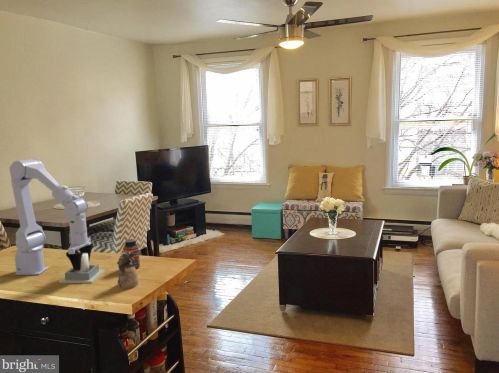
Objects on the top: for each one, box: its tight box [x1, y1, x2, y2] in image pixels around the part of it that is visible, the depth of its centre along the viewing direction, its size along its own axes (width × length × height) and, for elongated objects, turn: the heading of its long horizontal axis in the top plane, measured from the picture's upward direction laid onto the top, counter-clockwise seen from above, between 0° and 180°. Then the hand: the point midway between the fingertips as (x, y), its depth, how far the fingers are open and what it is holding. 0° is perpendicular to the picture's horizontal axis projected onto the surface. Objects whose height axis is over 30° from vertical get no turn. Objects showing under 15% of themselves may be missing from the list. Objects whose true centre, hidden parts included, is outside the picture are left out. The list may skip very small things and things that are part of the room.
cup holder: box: [58, 264, 105, 284], centre depth 161 cm, size 12×12×3 cm
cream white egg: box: [75, 253, 90, 272], centre depth 161 cm, size 5×5×8 cm
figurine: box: [116, 252, 139, 290], centre depth 152 cm, size 7×7×12 cm
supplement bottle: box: [122, 238, 141, 270], centre depth 169 cm, size 6×6×11 cm
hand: (81, 266), depth 161 cm, fingers open, 7 cm apart
